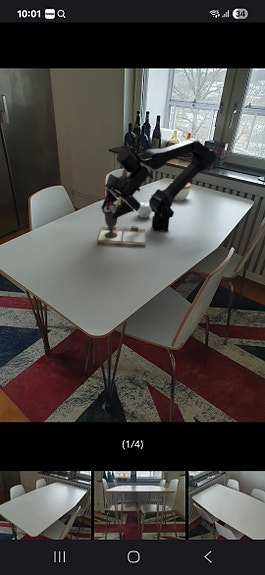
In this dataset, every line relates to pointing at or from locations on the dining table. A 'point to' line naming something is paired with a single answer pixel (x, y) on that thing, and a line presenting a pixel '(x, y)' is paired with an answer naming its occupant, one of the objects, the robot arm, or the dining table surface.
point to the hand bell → (120, 197)
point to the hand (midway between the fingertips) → (107, 213)
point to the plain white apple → (144, 209)
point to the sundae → (110, 218)
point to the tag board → (123, 237)
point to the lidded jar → (183, 192)
